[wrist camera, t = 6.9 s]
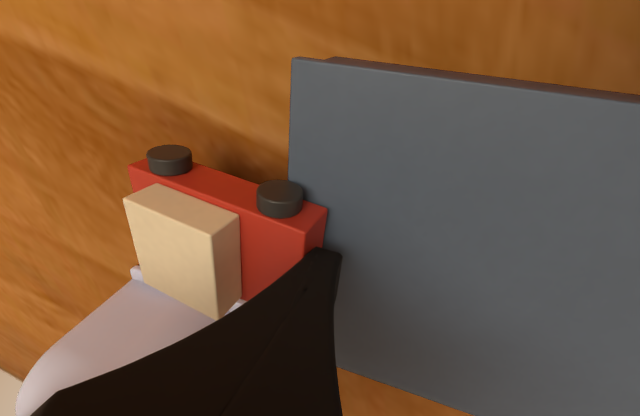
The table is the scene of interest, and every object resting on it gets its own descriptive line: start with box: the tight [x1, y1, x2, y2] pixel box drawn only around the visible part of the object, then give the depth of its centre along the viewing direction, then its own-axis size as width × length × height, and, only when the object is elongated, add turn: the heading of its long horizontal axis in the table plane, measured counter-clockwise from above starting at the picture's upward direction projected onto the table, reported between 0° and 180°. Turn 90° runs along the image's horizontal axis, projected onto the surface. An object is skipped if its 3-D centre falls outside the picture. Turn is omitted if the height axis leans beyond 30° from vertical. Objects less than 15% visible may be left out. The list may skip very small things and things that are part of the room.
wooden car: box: [123, 145, 328, 321], centre depth 11 cm, size 7×5×3 cm
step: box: [288, 57, 640, 416], centre depth 11 cm, size 13×12×4 cm
